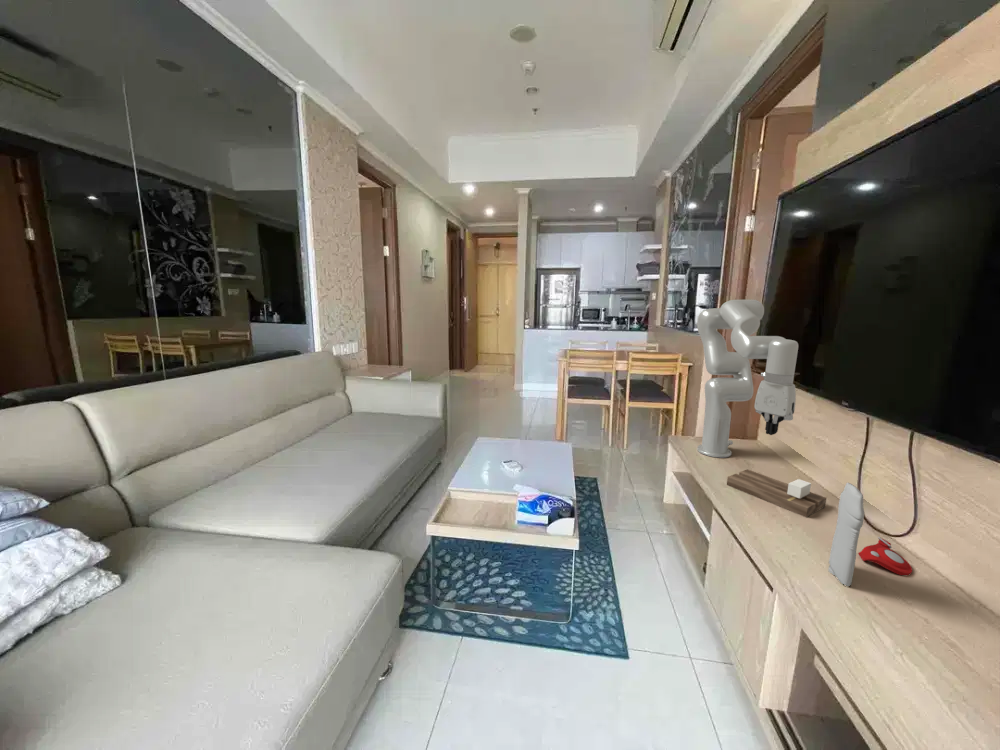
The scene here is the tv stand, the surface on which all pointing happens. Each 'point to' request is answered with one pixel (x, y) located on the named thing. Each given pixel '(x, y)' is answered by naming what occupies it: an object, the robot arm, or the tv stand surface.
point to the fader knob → (799, 488)
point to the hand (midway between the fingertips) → (770, 433)
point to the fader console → (775, 492)
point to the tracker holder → (886, 557)
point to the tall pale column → (846, 534)
